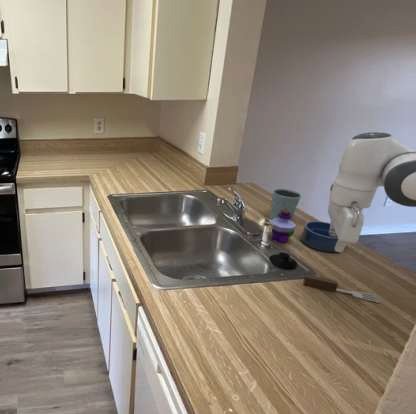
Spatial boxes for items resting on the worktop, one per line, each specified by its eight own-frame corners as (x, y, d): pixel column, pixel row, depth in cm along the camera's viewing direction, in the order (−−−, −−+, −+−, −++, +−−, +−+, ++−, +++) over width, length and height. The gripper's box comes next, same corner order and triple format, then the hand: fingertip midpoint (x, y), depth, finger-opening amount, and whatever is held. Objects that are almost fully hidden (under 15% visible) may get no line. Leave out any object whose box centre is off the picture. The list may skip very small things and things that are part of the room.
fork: (376, 297, 93) (379, 288, 92) (379, 303, 91) (382, 295, 90) (302, 280, 101) (305, 272, 99) (303, 286, 98) (306, 278, 97)
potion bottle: (291, 247, 119) (299, 217, 114) (264, 241, 123) (271, 212, 118) (292, 237, 125) (300, 208, 120) (267, 232, 129) (274, 204, 125)
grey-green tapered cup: (262, 214, 144) (268, 188, 140) (285, 213, 145) (291, 188, 140) (275, 224, 135) (282, 197, 130) (299, 224, 136) (306, 197, 131)
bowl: (340, 239, 124) (344, 225, 121) (346, 256, 113) (352, 241, 110) (299, 232, 129) (303, 218, 127) (302, 248, 118) (306, 233, 116)
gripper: (377, 213, 75) (357, 264, 81) (357, 185, 92) (342, 229, 98) (344, 208, 78) (327, 258, 83) (330, 182, 95) (317, 225, 100)
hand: (335, 242), depth 91 cm, fingers open, 8 cm apart
